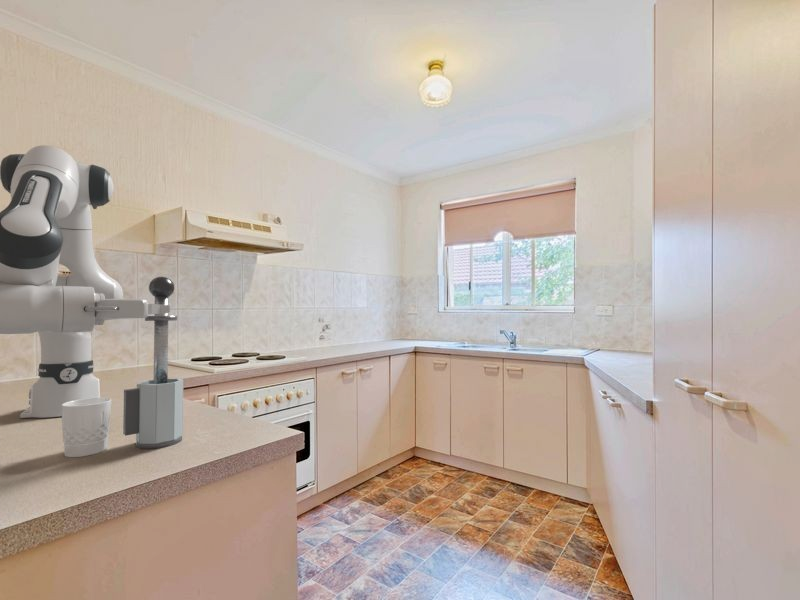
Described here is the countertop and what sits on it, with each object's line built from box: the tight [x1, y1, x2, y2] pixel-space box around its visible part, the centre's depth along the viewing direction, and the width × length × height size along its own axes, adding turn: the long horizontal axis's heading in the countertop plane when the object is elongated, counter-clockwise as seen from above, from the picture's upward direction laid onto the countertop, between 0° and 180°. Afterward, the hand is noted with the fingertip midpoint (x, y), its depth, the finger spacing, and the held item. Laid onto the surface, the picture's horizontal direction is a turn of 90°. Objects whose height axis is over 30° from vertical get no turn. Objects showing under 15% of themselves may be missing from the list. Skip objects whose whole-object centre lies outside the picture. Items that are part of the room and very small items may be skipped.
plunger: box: [144, 276, 178, 384], centre depth 85 cm, size 6×6×26 cm
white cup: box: [61, 397, 112, 458], centre depth 79 cm, size 8×8×10 cm
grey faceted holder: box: [122, 377, 184, 450], centre depth 84 cm, size 8×11×13 cm
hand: (162, 309), depth 85 cm, fingers open, 8 cm apart
